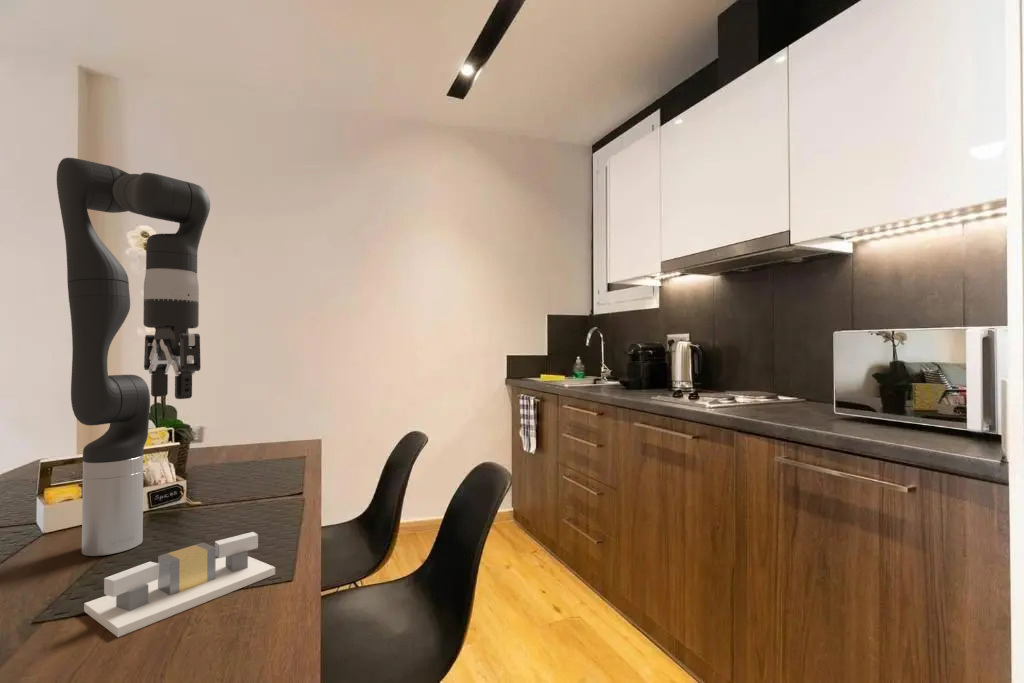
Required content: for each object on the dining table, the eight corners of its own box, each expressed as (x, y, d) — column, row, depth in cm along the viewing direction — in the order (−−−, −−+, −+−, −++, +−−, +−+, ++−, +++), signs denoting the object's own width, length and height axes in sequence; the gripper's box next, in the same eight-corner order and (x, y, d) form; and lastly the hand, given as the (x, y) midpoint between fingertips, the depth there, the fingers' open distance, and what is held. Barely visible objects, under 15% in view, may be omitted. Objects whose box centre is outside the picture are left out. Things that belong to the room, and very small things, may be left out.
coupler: (157, 588, 77) (158, 556, 77) (202, 572, 82) (203, 542, 82) (170, 595, 75) (170, 562, 75) (215, 578, 80) (215, 547, 80)
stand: (84, 611, 72) (84, 569, 73) (237, 558, 91) (237, 524, 91) (117, 637, 66) (118, 590, 66) (275, 574, 84) (275, 538, 84)
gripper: (217, 298, 82) (217, 397, 81) (176, 303, 90) (175, 393, 89) (166, 294, 75) (165, 401, 75) (126, 299, 83) (125, 397, 83)
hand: (171, 397), depth 82 cm, fingers open, 8 cm apart
